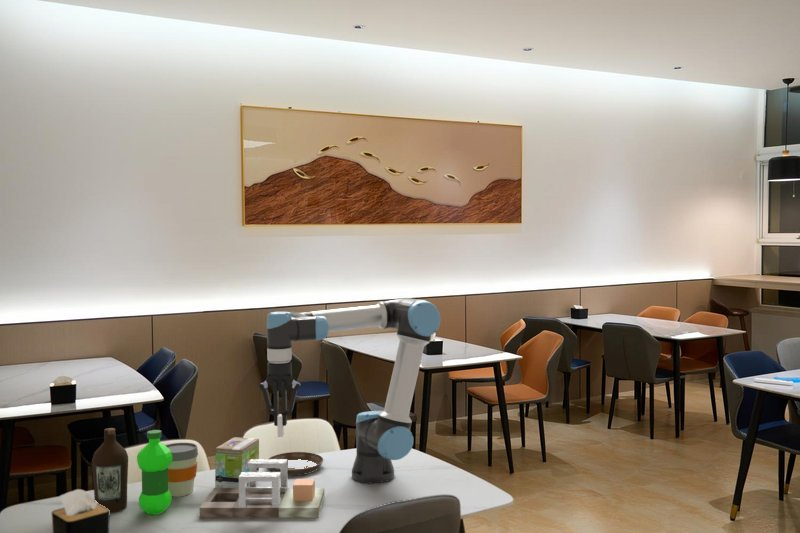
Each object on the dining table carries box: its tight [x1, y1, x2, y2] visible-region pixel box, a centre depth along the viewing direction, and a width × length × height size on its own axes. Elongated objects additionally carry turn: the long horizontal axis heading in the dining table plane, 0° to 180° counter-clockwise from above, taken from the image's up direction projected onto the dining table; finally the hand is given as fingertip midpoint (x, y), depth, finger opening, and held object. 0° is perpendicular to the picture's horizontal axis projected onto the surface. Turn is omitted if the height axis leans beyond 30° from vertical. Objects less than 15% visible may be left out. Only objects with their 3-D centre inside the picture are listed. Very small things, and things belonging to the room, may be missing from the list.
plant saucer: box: [268, 451, 324, 476], centre depth 278 cm, size 21×21×3 cm
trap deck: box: [199, 487, 325, 519], centre depth 238 cm, size 36×18×3 cm, turn 90°
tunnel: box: [239, 458, 289, 508], centre depth 238 cm, size 12×18×10 cm, turn 0°
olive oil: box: [91, 427, 129, 514], centre depth 237 cm, size 11×11×25 cm
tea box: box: [214, 436, 260, 488], centre depth 259 cm, size 15×10×15 cm, turn 168°
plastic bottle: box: [136, 429, 173, 516], centre depth 234 cm, size 10×10×25 cm
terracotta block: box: [292, 478, 316, 501], centre depth 238 cm, size 6×6×5 cm
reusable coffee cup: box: [164, 442, 199, 497], centre depth 252 cm, size 13×12×15 cm
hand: (280, 435), depth 238 cm, fingers closed
